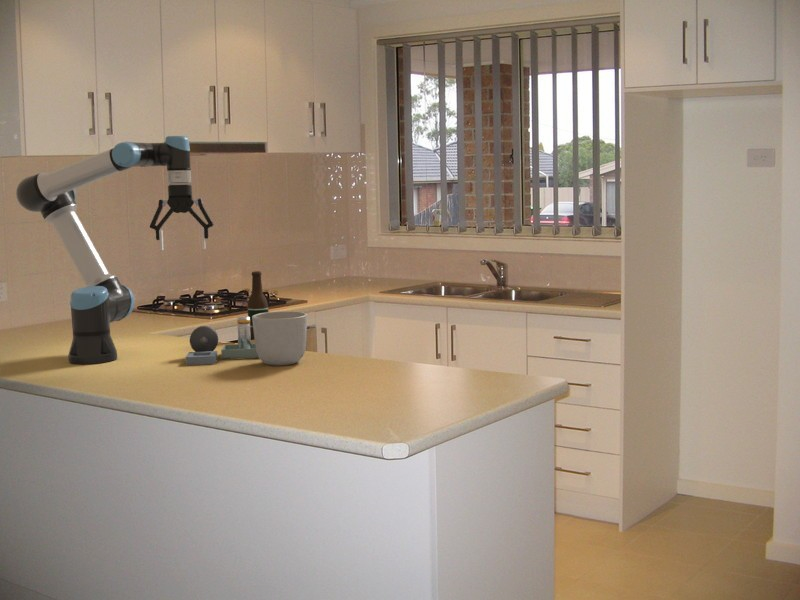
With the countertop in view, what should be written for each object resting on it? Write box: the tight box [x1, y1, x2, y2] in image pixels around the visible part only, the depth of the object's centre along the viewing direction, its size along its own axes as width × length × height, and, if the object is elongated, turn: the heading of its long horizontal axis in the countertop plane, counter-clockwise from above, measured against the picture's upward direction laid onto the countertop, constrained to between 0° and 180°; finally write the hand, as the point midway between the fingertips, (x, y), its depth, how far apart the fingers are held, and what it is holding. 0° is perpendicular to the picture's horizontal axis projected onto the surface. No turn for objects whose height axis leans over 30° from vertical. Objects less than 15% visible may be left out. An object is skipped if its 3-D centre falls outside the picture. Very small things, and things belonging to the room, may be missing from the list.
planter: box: [252, 310, 308, 367], centre depth 314 cm, size 17×17×15 cm
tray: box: [220, 343, 260, 360], centre depth 329 cm, size 14×10×3 cm
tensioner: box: [185, 325, 219, 366], centre depth 324 cm, size 9×17×10 cm, turn 5°
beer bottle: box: [247, 270, 269, 340], centre depth 363 cm, size 8×8×24 cm
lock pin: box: [236, 315, 252, 349], centre depth 329 cm, size 4×4×12 cm
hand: (183, 249), depth 330 cm, fingers open, 13 cm apart
